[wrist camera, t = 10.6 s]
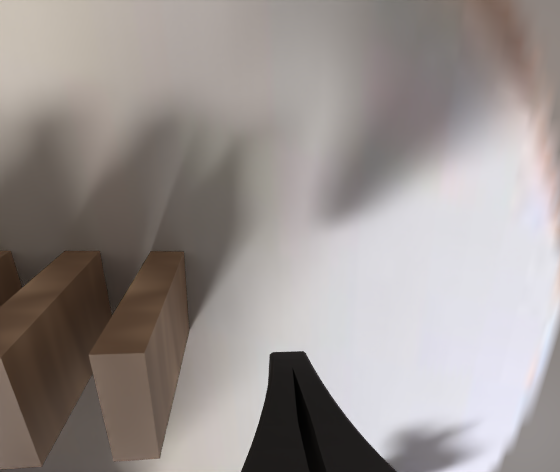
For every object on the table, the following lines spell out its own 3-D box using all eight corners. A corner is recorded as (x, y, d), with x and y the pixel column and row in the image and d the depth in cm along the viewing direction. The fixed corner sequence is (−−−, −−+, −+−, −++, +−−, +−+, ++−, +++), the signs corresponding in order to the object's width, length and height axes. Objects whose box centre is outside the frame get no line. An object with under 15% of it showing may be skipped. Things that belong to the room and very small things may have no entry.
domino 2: (183, 251, 16) (144, 352, 10) (189, 330, 18) (159, 458, 12) (150, 251, 16) (88, 354, 10) (160, 331, 18) (113, 461, 11)
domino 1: (99, 251, 16) (0, 357, 9) (115, 332, 18) (41, 466, 11) (64, 251, 15) (-61, 359, 9) (84, 333, 17) (-9, 470, 11)
